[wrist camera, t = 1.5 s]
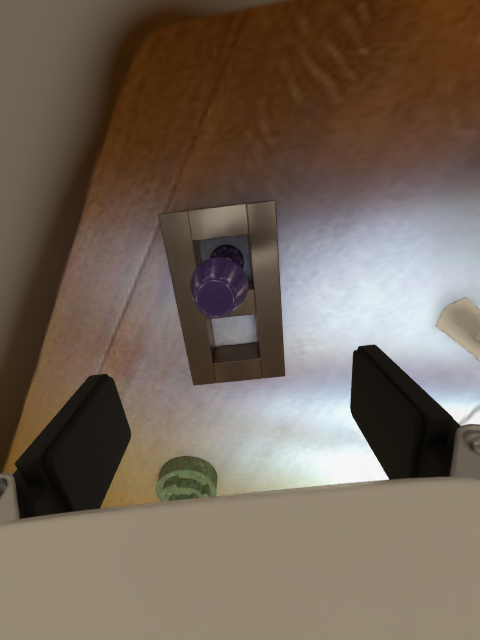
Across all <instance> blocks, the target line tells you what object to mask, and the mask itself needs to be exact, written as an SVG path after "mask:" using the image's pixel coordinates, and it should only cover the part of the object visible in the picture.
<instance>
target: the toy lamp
mask: <svg viewBox="0 0 480 640" xmlns="http://www.w3.org/2000/svg"><path fill="white" fill-rule="evenodd" d="M243 266H244V259H243V255H242V253H241V252H240V251H239V250H238V249H237V248H236V247H234V246H231V245H222V246H219V247H218V248H216V249H215V250H214V251H213V253H212V255H211V257H210V259H208V260H205V261H204V262H202V263H201V264H200V265H199V266H197V268H196V269H195V270H194V272H193V275H192V277H191V282H190V289H191V294H192V297H193V300H194V303H195V305H196V307H197V309H198V310H199V311H200V312H201V313H202V314H204V315H205V316H208V317H211V318H222V317H225V316H227V315H229V314H230V313H232V312H233V311H235V310H236V309H237V308H238V307H239V306H240V305H241V304H242V303H243V301H244V300H245V298H246V295H247V291H248V281H247V277H246V275H245V273H244V271H243V270H242V269H243Z"/></svg>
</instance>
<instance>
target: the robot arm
mask: <svg viewBox="0 0 480 640" xmlns="http://www.w3.org/2000/svg"><path fill="white" fill-rule="evenodd" d="M350 408H351V413H352V416H353V418H354V420H355V421H356V423H357V425H358V427H359V428H360V430H361V432H362V433H363V435H364V437H365V439H366V440H367V442H368V444H369V445H370V447H371V449H372V451H373V452H374V454H375V456H376V457H377V459H378V461H379V463H380V464H381V466H382V468H383V469H384V471H385V473H386V475H387V476H388V478H389V480H381V481H368V482H356V483H346V484H335V485H325V486H314V487H304V488H293V489H283V490H273V491H263V492H253V493H243V494H233V495H223V496H213V497H204V498H194V499H184V500H174V501H165V502H156V503H147V504H137V505H128V506H119V507H110V508H100V507H101V505H102V502H103V500H104V498H105V496H106V493H107V491H108V489H109V487H110V484H111V482H112V480H113V478H114V475H115V473H116V471H117V468H118V466H119V464H120V462H121V459H122V457H123V455H124V453H125V450H126V448H127V446H128V444H129V441H130V438H131V431H130V427H129V424H128V421H127V418H126V415H125V412H124V409H123V406H122V403H121V400H120V397H119V394H118V391H117V388H116V385H115V382H114V380H113V378H112V377H109V376H108V375H107V374H101V375H92V376H89V377H88V378H87V379H86V381H85V382H84V383H83V384H82V385H81V386H80V388H79V389H78V390H77V391H76V392H75V393H74V395H73V396H72V397H71V398H70V399H69V400H68V402H67V403H66V404H65V405H64V406H63V408H62V409H61V410H60V411H59V412H58V413H57V415H56V416H55V417H54V418H53V419H52V420H51V422H50V423H49V424H48V425H47V426H46V427H45V429H44V430H43V431H42V432H41V433H40V434H39V436H38V437H37V438H36V439H35V440H34V441H33V443H32V444H31V445H30V446H29V447H28V448H27V450H26V451H25V452H24V453H23V454H22V455H21V457H20V458H19V459H18V460H17V461H16V462H15V465H16V467H17V470H16V471H15V473H14V474H13V475H12V474H9V473H0V640H480V425H478V424H468V425H463V426H460V425H459V424H458V423H457V422H456V421H455V420H454V419H453V417H452V416H451V415H450V414H449V413H448V412H447V411H445V410H444V409H443V408H442V407H441V406H440V405H439V404H438V403H437V402H436V401H435V400H434V399H433V398H432V397H431V396H430V395H428V394H427V393H426V392H425V391H424V390H423V389H422V388H421V387H420V386H419V385H418V384H417V383H416V382H415V381H414V380H413V379H411V378H410V377H409V376H408V375H407V374H406V373H405V372H404V371H403V370H402V369H401V368H400V367H399V366H398V365H397V364H396V363H394V362H393V361H392V360H391V359H390V358H389V357H388V356H387V355H386V354H385V353H384V352H383V351H382V350H381V349H380V348H379V347H377V346H376V345H366V346H359V347H358V349H357V350H355V351H354V352H353V366H352V386H351V405H350Z"/></svg>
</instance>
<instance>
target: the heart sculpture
mask: <svg viewBox="0 0 480 640" xmlns="http://www.w3.org/2000/svg"><path fill="white" fill-rule="evenodd" d="M436 327H438V328H439V329H440V330H442V331H443V332H444V333H445V334H447V335H448V336H449V337H451V338H452V339H453V340H454V341H456V342H457V343H458V344H459V345H461V346H462V347H463V348H465V349H466V350H467V351H468V352H470V353H471V354H472V355H474V356H475V357H476V358H477V359H479V360H480V309H479V308H477V307H476V306H475V305H474V304H473V303H472V302H470V301H469V300H468V299H467V298H466V297H465V298H463V299H460V300H458V301H456V302H454V303H452V304H450V305H449V306H447V307H446V308H445V309H444V311H443V312H442V313H441V315H440V317H439V319H438V322H437V325H436Z"/></svg>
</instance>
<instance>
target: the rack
mask: <svg viewBox="0 0 480 640" xmlns="http://www.w3.org/2000/svg"><path fill="white" fill-rule="evenodd" d="M158 215H159V220H160V225H161V230H162V235H163V239H164V244H165V249H166V254H167V259H168V264H169V269H170V273H171V278H172V283H173V288H174V293H175V298H176V303H177V307H178V312H179V317H180V322H181V327H182V332H183V337H184V342H185V346H186V351H187V356H188V361H189V366H190V371H191V376H192V380H193V385H202V384H212V383H222V382H232V381H242V380H252V379H262V378H271V377H281V376H285V363H284V345H283V327H282V308H281V290H280V272H279V253H278V235H277V217H276V201H275V200H273V201H265V202H256V203H248V204H239V205H231V206H222V207H214V208H205V209H197V210H188V211H180V212H171V213H162V214H158ZM240 235H248V244H249V255H250V265H251V276H252V280H248V291H247V295H246V298H245V300H244V301H243V303H242V304H241V305H240V306H239V307H238V308H237V309H236V310H235V311H233V312H232V313H230V314H229V315H227V316H225V317H232V316H242V315H251V314H255V319H256V329H257V340H258V343H249V344H239V345H230V346H220V347H215V342H214V336H213V329H212V323H211V319H213V318H211V317H208V316H205V315H204V314H202V313H201V312H200V311H199V310H198V309H197V307H196V305H195V303H194V300H193V297H192V294H191V289H190V282H191V277H192V275H193V272H194V270H195V269H196V268H197V266H199V265H200V264H201V263H202V261H201V254H200V248H199V242H198V240H205V239H214V238H222V237H231V236H240ZM222 318H223V317H222Z"/></svg>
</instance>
